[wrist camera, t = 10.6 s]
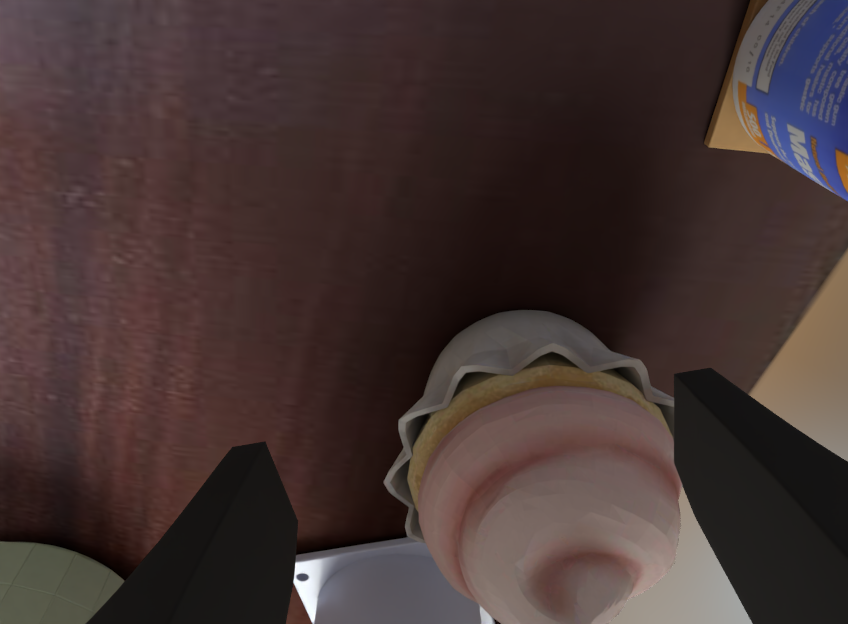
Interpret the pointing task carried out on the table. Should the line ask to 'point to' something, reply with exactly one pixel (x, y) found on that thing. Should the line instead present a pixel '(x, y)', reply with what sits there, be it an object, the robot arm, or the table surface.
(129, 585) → the robot arm
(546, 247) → the table surface
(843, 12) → the pill bottle
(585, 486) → the cupcake
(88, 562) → the bowl
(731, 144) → the coaster
